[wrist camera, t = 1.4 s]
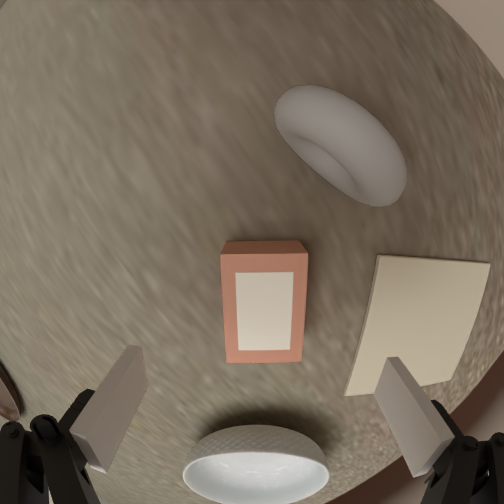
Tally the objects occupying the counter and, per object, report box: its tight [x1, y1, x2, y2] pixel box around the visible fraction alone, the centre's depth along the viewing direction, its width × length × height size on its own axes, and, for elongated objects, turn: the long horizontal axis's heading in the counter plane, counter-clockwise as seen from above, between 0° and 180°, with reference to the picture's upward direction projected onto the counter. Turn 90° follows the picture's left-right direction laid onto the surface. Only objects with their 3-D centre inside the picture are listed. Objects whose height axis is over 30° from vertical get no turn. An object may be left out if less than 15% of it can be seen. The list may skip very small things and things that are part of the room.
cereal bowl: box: [183, 425, 330, 504], centre depth 26 cm, size 17×17×7 cm
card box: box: [220, 241, 308, 363], centre depth 22 cm, size 9×6×5 cm, turn 1°
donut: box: [274, 85, 407, 207], centre depth 16 cm, size 10×4×10 cm, turn 51°
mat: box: [343, 254, 491, 396], centre depth 25 cm, size 16×16×1 cm
